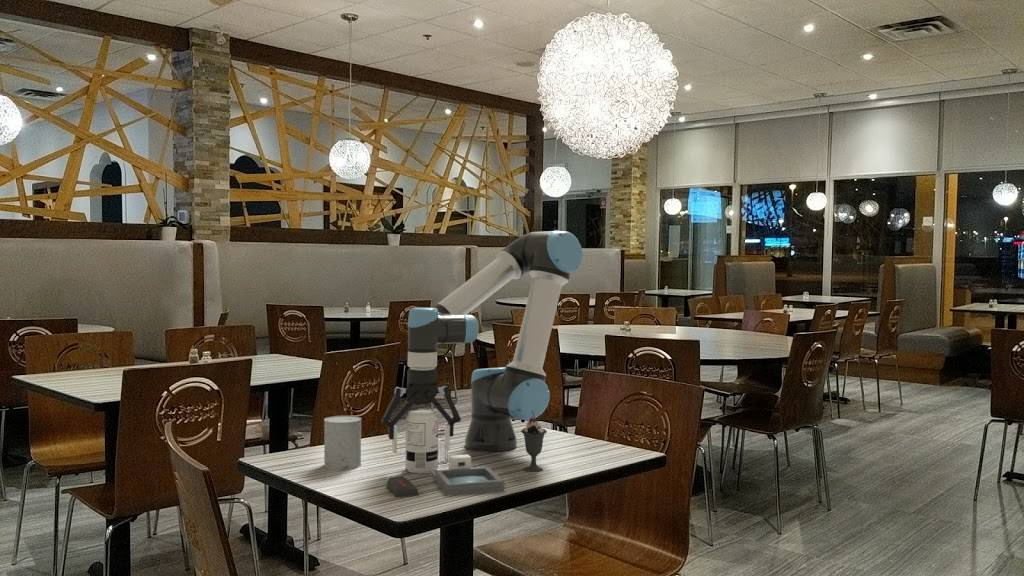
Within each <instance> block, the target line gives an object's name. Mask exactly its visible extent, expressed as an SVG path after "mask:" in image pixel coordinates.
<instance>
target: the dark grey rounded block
mask: <svg viewBox="0 0 1024 576" xmlns="http://www.w3.org/2000/svg"><path fill="white" fill-rule="evenodd" d="M386 489H388V491H389V492H390V493H391V494H392V496H394V497H395V498H406V497H415V496H416V497H417V496H419V489H418V487H416V486H415V485H414V484H413V483H412V481H410V480H409V479H408V478H407V477H405V476H404V475H401V476H400V475H398V476H397V475H396V476H390V477H387V481H386Z"/></svg>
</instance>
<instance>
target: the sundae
mask: <svg viewBox="0 0 1024 576" xmlns="http://www.w3.org/2000/svg"><path fill="white" fill-rule="evenodd" d="M532 413H533V411H532ZM533 414H534V413H533ZM520 432H521V434H523V436H524V437H523V438H524V444H525V451H526V453H527V454H528V455H529V456H530V457H531V458H530V460H531V461H530V465H529V466H525V467H524V468H523V470H524V471H526V472H529V473H537V472H542V471H543V470H544V468H543V467H541V466H539V465H537V457H538V456H539V455H540V454H541V453H542V449H543V443H544V437H545V435H546V434H547V433H548V431H547V429H545V428H543V427H541V425H540V423H539V422H538V421H537V419H536V418H535V416H534V418H533V416H532V418H530V420H528V422H527V423H526V426H525V427H524V428H523V429H522V430H521V431H520Z"/></svg>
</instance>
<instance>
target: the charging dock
mask: <svg viewBox="0 0 1024 576" xmlns="http://www.w3.org/2000/svg"><path fill="white" fill-rule="evenodd" d="M430 474H431V477H432V478H433V480H434V481H435V483H436V484H437V485H438V486H439V487H440V488H441V489H442V490H444V491H443V492H444V493H445V494H446V496H458V495H470V494H484V493H486V494H487V493H497V492H498V493H499V492H505V487H504V482H505V481H504V480H503V479H502V478H501V477H500V476H499V475H498V474H497V473H496V472H494V470H493V469H492V468H490V467H489V466H484V467H483V466H482V467H481V466H480V467H472V456H470V455H469V454H457V455H449V456H448V469H440V470H439V469H436V470H435V471H434V472H430Z"/></svg>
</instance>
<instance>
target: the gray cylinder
mask: <svg viewBox="0 0 1024 576" xmlns="http://www.w3.org/2000/svg"><path fill="white" fill-rule="evenodd" d="M323 421H324V422H323V423H324V427H323V428H324V431H323V432H324V435H323V436H324V437H323V438H324V440H323V441H324V444H323V445H324V450H323V451H324V458H323V459H324V465H323V467H324V468H325V469H328V470H336V471H337V470H339V471H341V470H353V469H357V468H359V467H361V466H362V417H361V416H356V415H335V416H329V417H325V418H324V419H323Z"/></svg>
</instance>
